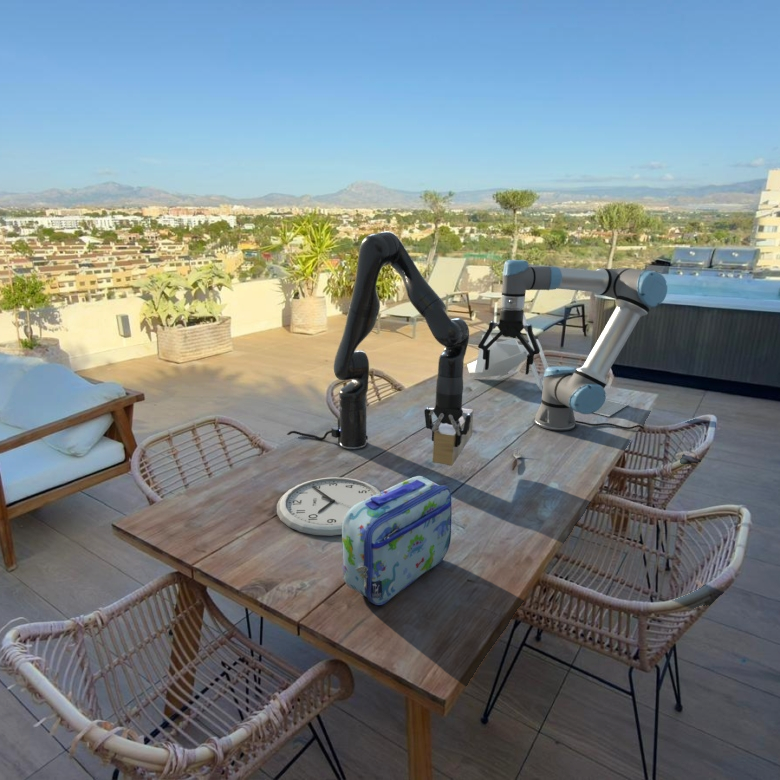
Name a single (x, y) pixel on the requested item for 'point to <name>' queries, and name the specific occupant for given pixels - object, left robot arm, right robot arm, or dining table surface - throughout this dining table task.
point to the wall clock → (322, 504)
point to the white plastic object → (505, 358)
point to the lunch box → (395, 537)
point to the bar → (450, 441)
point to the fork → (516, 457)
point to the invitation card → (610, 408)
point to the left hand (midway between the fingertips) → (446, 444)
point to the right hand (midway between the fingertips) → (506, 371)
